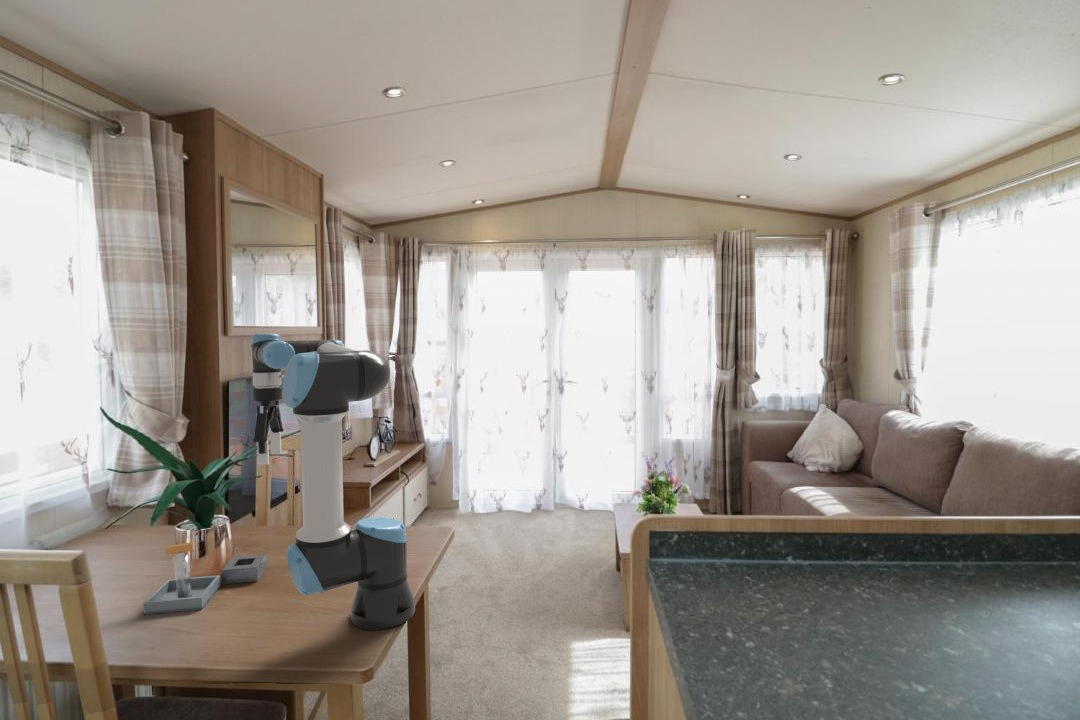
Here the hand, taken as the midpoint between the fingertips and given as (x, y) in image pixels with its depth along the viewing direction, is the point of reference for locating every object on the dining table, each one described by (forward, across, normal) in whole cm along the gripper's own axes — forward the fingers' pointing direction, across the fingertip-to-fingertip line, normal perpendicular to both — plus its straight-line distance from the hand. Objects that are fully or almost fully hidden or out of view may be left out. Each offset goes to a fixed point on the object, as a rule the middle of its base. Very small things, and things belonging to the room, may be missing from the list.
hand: (270, 459), depth 165 cm
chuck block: (+32, -6, +6) cm, 33 cm away
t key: (+31, -18, +17) cm, 40 cm away
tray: (+32, -18, +17) cm, 40 cm away
